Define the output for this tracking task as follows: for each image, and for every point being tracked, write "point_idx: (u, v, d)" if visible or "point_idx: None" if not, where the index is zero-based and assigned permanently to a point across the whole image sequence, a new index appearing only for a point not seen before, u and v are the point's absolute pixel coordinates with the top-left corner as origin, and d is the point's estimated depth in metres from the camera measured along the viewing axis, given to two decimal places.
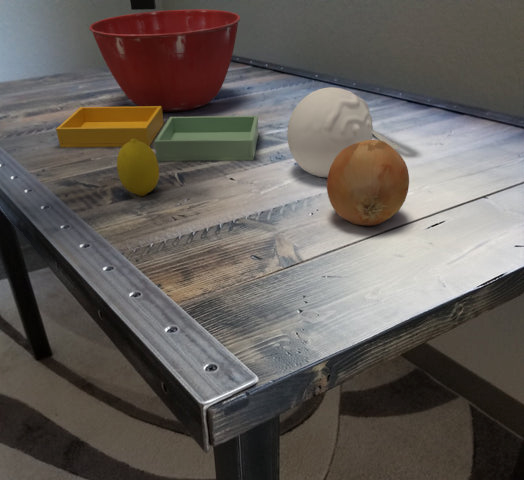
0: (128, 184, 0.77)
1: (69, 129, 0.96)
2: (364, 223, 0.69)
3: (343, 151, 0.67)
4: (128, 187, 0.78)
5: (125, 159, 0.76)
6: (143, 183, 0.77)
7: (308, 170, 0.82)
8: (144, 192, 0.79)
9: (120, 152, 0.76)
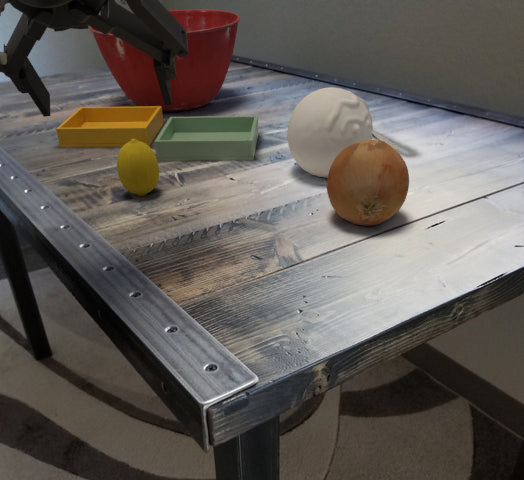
0: (128, 184, 0.77)
1: (69, 129, 0.96)
2: (364, 223, 0.69)
3: (343, 151, 0.67)
4: (128, 187, 0.78)
5: (125, 159, 0.76)
6: (143, 183, 0.77)
7: (308, 170, 0.82)
8: (144, 192, 0.79)
9: (120, 152, 0.76)
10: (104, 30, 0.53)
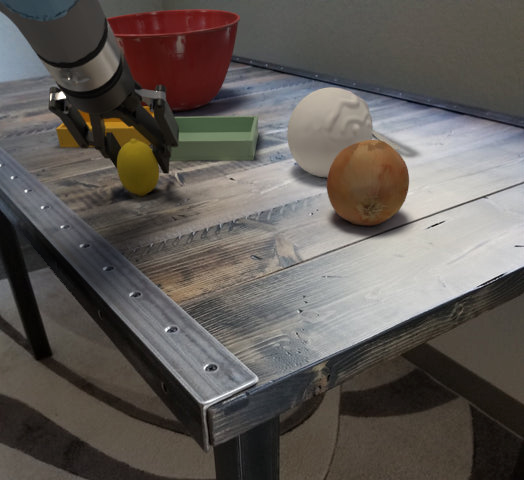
0: (128, 184, 0.77)
1: None
2: (364, 223, 0.69)
3: (343, 151, 0.67)
4: (128, 187, 0.78)
5: (124, 159, 0.76)
6: (143, 183, 0.77)
7: (308, 170, 0.82)
8: (144, 192, 0.79)
9: (120, 152, 0.76)
10: (129, 124, 0.68)
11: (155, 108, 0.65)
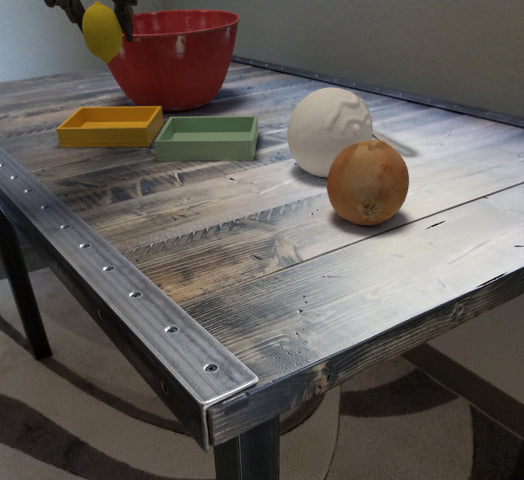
0: (92, 45, 0.83)
1: (69, 129, 0.96)
2: (364, 223, 0.69)
3: (343, 151, 0.67)
4: (93, 49, 0.84)
5: (88, 19, 0.81)
6: (106, 44, 0.83)
7: (308, 170, 0.82)
8: (108, 55, 0.85)
9: (85, 13, 0.82)
10: None
11: None
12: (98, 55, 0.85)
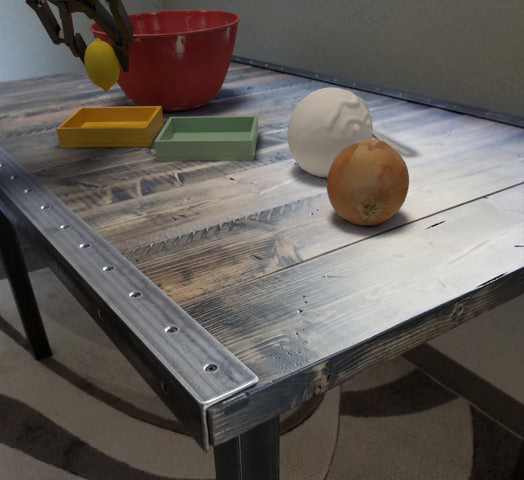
0: (93, 76, 0.95)
1: (69, 129, 0.96)
2: (364, 223, 0.69)
3: (343, 151, 0.67)
4: (94, 80, 0.95)
5: (90, 54, 0.93)
6: (105, 76, 0.95)
7: (308, 170, 0.82)
8: (107, 85, 0.96)
9: (86, 49, 0.94)
10: (91, 17, 0.85)
11: (109, 1, 0.83)
12: (98, 85, 0.96)
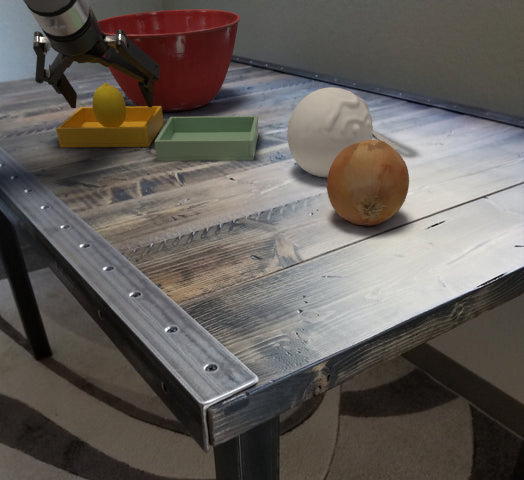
0: (101, 119, 0.99)
1: (69, 129, 0.96)
2: (364, 223, 0.69)
3: (343, 151, 0.67)
4: (101, 121, 0.99)
5: (98, 98, 0.97)
6: (112, 118, 0.99)
7: (308, 170, 0.82)
8: (114, 126, 1.00)
9: (95, 93, 0.98)
10: (106, 65, 0.89)
11: (117, 48, 0.86)
12: (106, 126, 1.00)
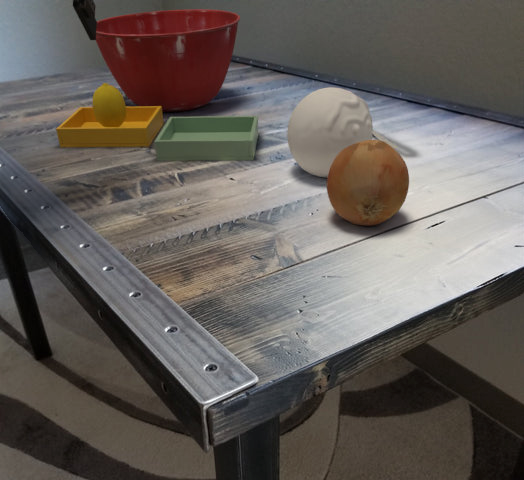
0: (101, 119, 0.99)
1: (69, 129, 0.96)
2: (364, 223, 0.69)
3: (343, 151, 0.67)
4: (101, 122, 0.99)
5: (98, 98, 0.97)
6: (112, 118, 0.99)
7: (308, 170, 0.82)
8: (114, 126, 1.00)
9: (94, 93, 0.98)
10: None
11: None
12: (106, 126, 1.00)
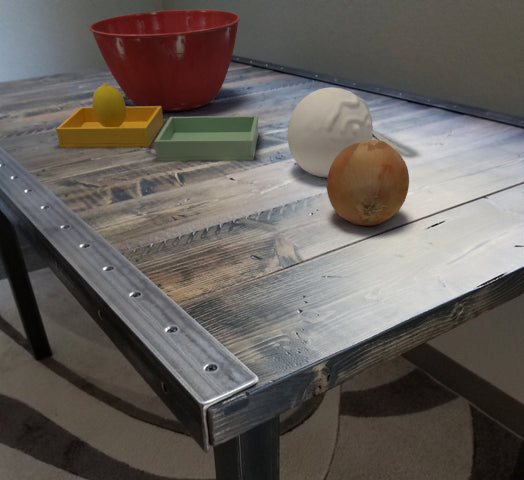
0: (101, 119, 0.99)
1: (69, 129, 0.96)
2: (364, 223, 0.69)
3: (343, 151, 0.67)
4: (101, 122, 0.99)
5: (98, 98, 0.97)
6: (112, 118, 0.99)
7: (308, 170, 0.82)
8: (114, 126, 1.00)
9: (94, 93, 0.98)
10: None
11: None
12: (106, 126, 1.00)
